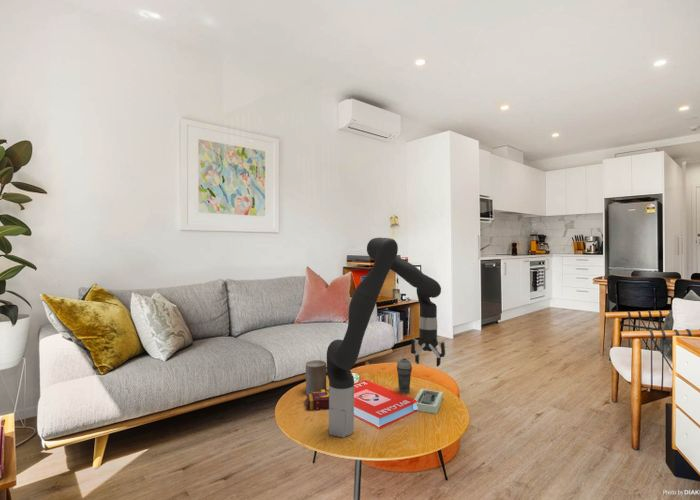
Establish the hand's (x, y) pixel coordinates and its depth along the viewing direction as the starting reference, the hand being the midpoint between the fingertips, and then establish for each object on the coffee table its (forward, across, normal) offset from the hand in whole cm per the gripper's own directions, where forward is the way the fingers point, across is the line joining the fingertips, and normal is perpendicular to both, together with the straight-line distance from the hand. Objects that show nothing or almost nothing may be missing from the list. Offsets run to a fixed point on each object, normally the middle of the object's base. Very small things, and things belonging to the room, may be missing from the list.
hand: (427, 364), depth 167 cm
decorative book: (+18, -42, -16) cm, 48 cm away
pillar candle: (+18, -51, -5) cm, 54 cm away
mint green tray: (+17, 0, +1) cm, 17 cm away
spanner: (+17, 0, 0) cm, 17 cm away
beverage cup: (+18, -13, +11) cm, 24 cm away
